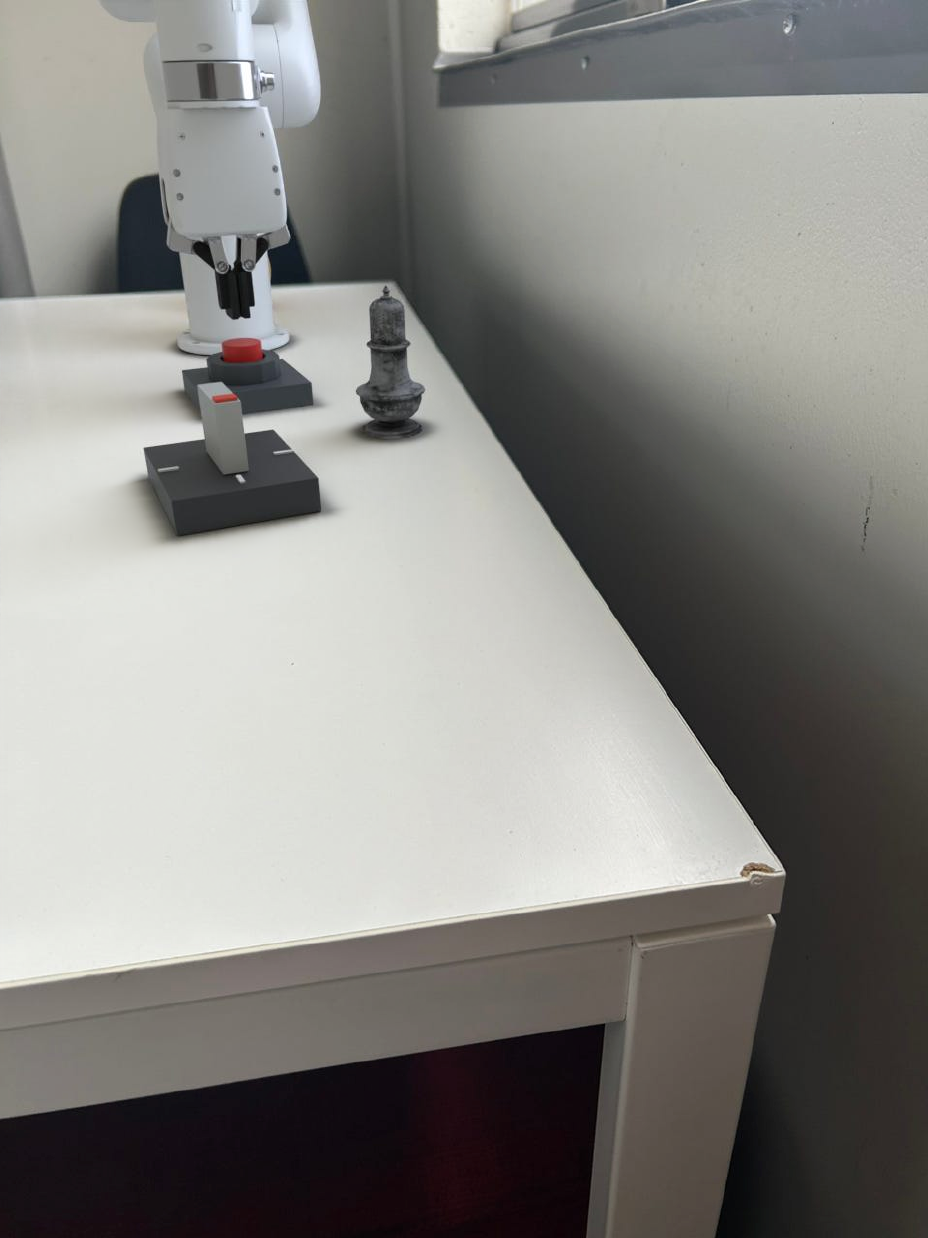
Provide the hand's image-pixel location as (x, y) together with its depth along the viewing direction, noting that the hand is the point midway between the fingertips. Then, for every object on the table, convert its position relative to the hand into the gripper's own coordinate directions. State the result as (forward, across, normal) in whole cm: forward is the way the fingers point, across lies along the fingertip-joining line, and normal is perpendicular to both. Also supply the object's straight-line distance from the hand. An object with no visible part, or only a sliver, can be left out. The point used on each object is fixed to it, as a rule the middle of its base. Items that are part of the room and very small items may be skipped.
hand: (238, 315), depth 90 cm
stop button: (+4, 0, 0) cm, 4 cm away
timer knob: (+5, +7, +24) cm, 25 cm away
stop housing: (+8, 0, 0) cm, 8 cm away
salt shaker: (+8, -9, +15) cm, 19 cm away
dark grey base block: (+8, +7, +24) cm, 26 cm away
